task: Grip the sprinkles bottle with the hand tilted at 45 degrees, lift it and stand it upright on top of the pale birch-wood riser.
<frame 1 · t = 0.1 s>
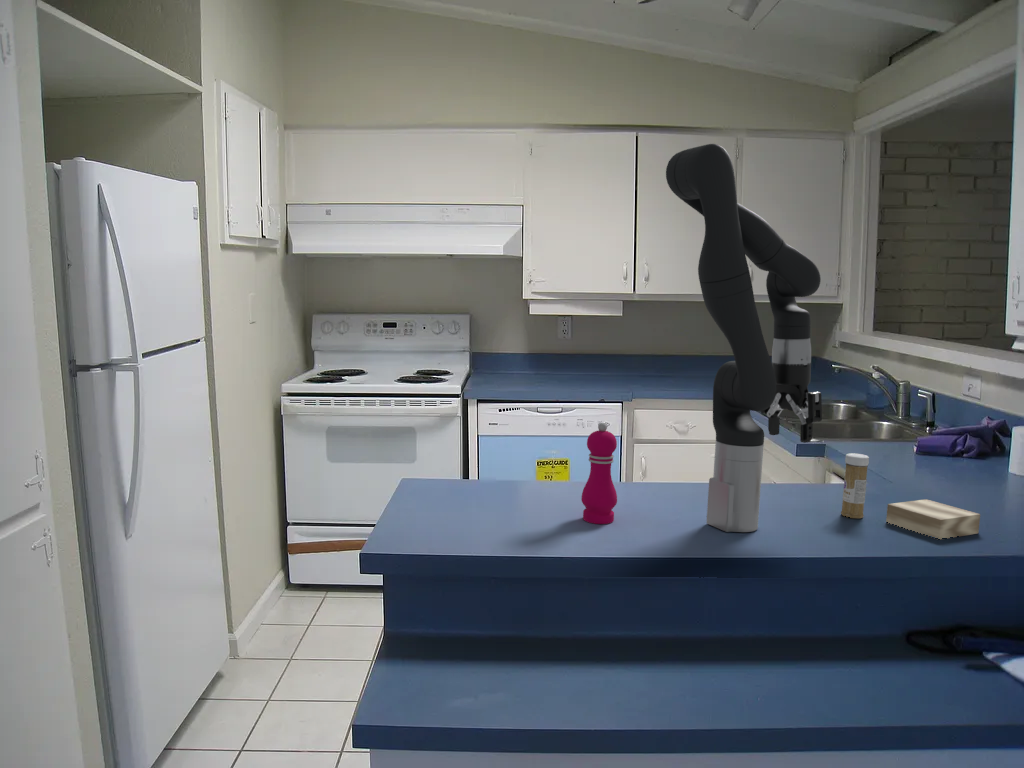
hand: (789, 438, 159), 17 cm above the countertop, tool pointing down, fingers open, 8 cm apart
wooden riser: (931, 527, 158), on the countertop
sprinkles bottle: (852, 517, 165), on the countertop
pepper mill: (598, 520, 157), on the countertop
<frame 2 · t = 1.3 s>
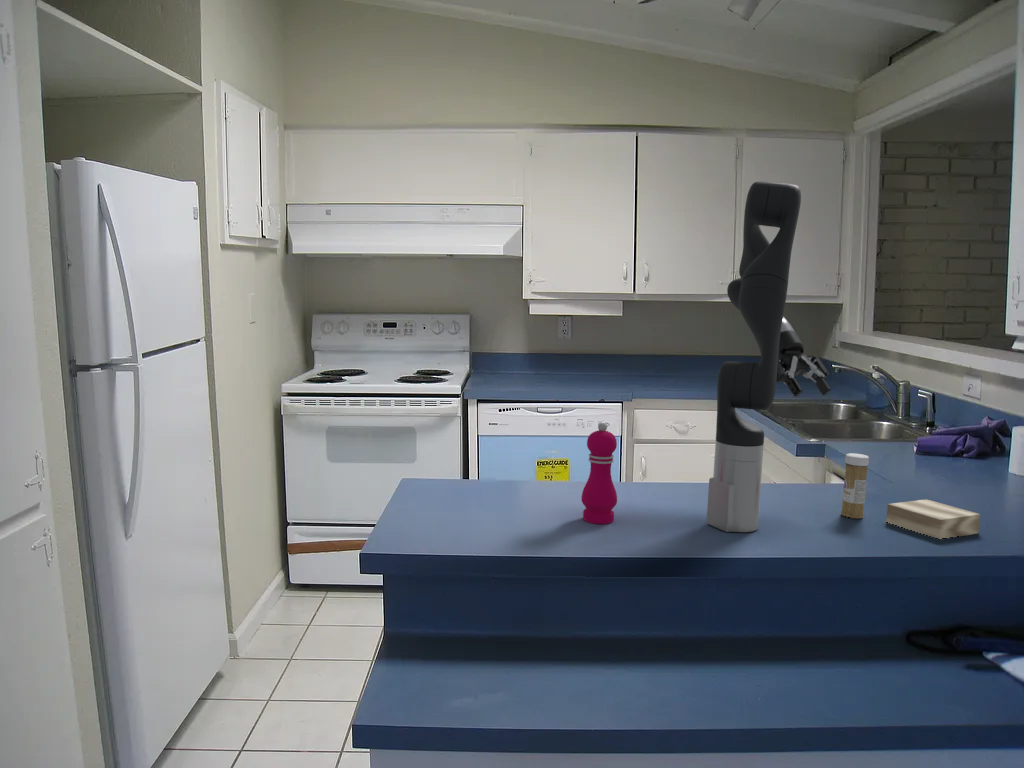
hand: (813, 393, 174), 25 cm above the countertop, tool tilted 45°, fingers open, 8 cm apart
nothing on the countertop moved.
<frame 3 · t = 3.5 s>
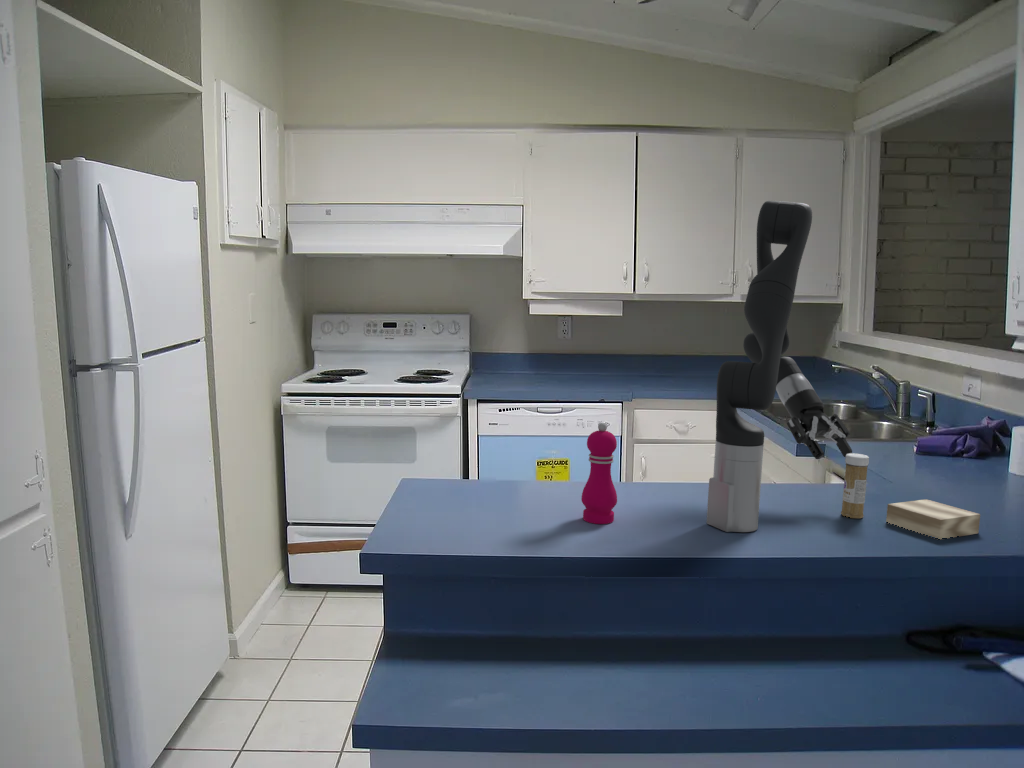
hand: (834, 456, 169), 12 cm above the countertop, tool tilted 45°, fingers open, 8 cm apart
nothing on the countertop moved.
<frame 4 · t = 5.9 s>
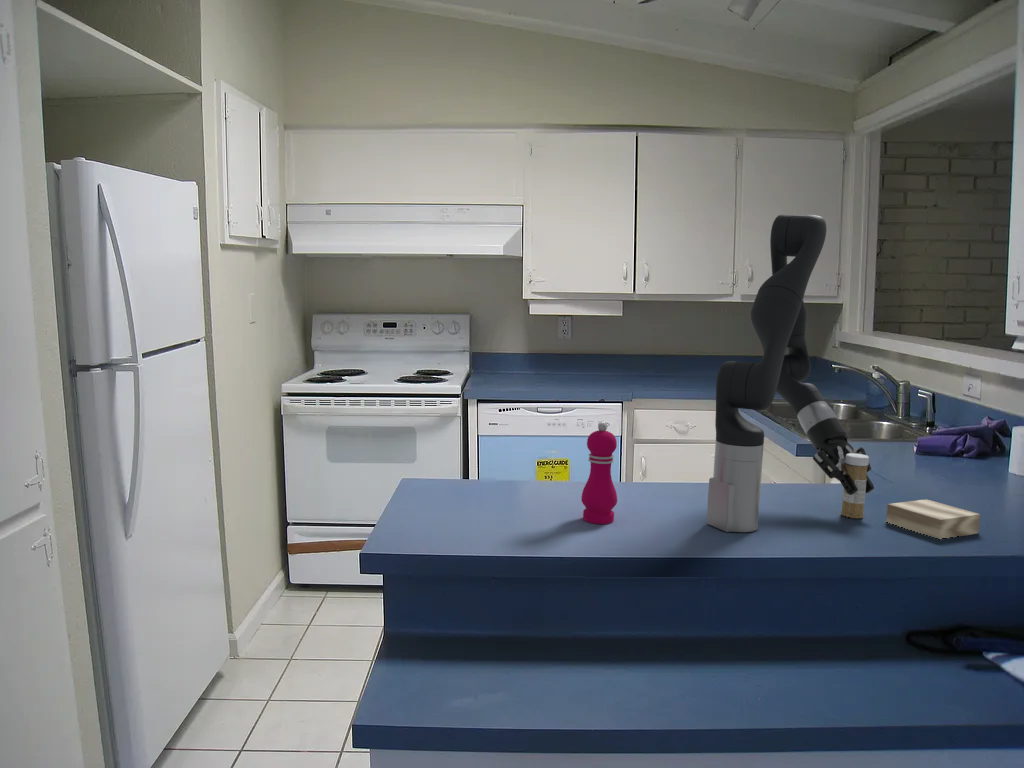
hand: (862, 491, 163), 6 cm above the countertop, tool tilted 45°, fingers closed on sprinkles bottle, 4 cm apart
sprinkles bottle: (852, 517, 165), on the countertop, touching gripper
everything else where it was.
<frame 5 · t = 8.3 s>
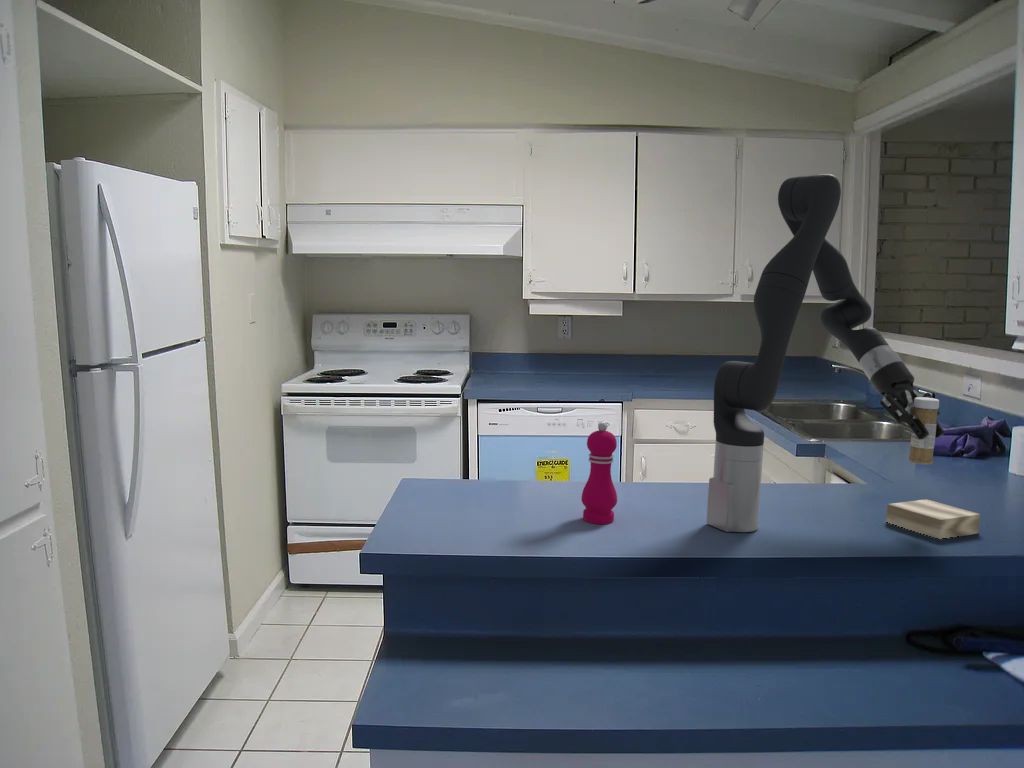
hand: (932, 436, 157), 19 cm above the countertop, tool tilted 45°, fingers closed on sprinkles bottle, 4 cm apart
sprinkles bottle: (920, 463, 159), point 13 cm above the countertop, touching gripper
everything else where it was.
when the fingers open (11 cm above the countertop, at t = 10.7 s): sprinkles bottle drops 1 cm, resting on wooden riser.
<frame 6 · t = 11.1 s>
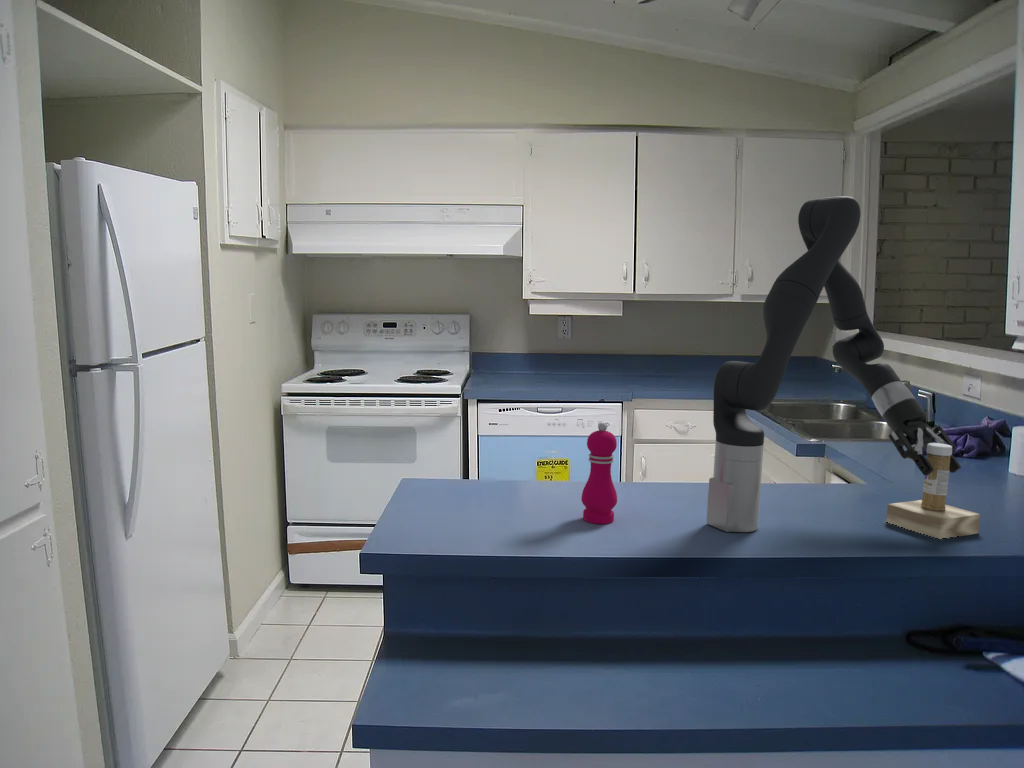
hand: (943, 472, 156), 12 cm above the countertop, tool tilted 45°, fingers open, 8 cm apart
sprinkles bottle: (933, 509, 158), point 4 cm above the countertop, touching wooden riser
everything else where it was.
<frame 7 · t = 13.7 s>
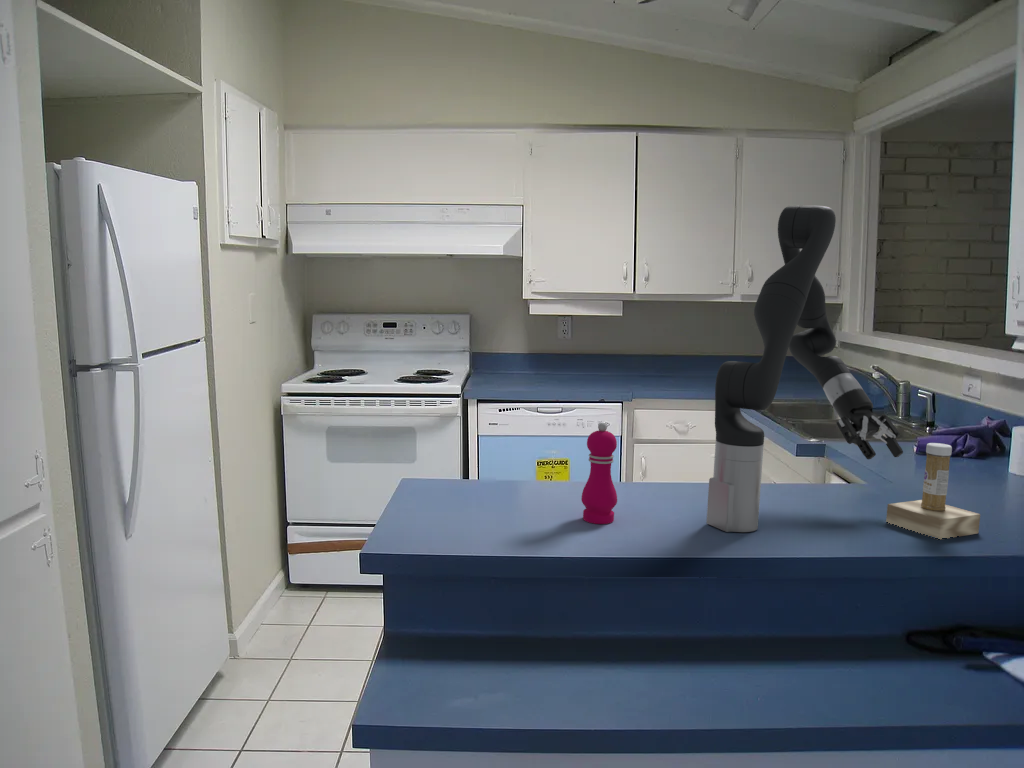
hand: (885, 456, 167), 13 cm above the countertop, tool tilted 45°, fingers open, 8 cm apart
nothing on the countertop moved.
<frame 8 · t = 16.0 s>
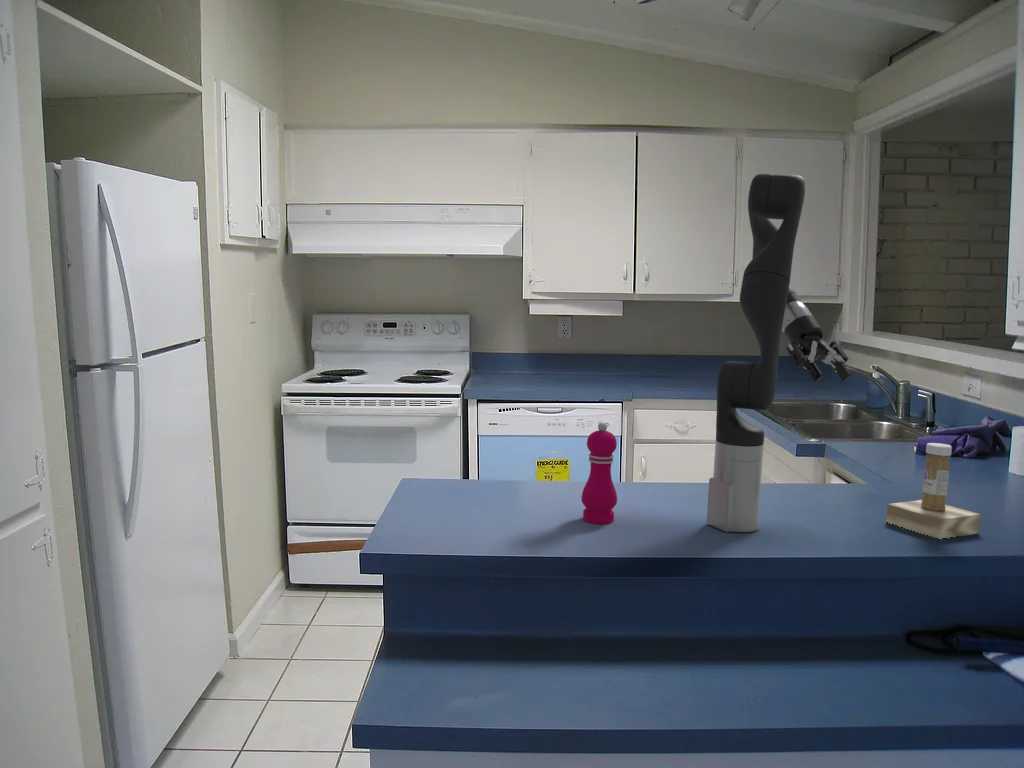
hand: (833, 378, 172), 29 cm above the countertop, tool tilted 45°, fingers open, 8 cm apart
nothing on the countertop moved.
at the end: sprinkles bottle inside the target area on the wooden riser (0.4 cm from its centre), point 3.8 cm above the wooden riser's base; sprinkles bottle tilted 0°; the gripper is holding nothing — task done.
